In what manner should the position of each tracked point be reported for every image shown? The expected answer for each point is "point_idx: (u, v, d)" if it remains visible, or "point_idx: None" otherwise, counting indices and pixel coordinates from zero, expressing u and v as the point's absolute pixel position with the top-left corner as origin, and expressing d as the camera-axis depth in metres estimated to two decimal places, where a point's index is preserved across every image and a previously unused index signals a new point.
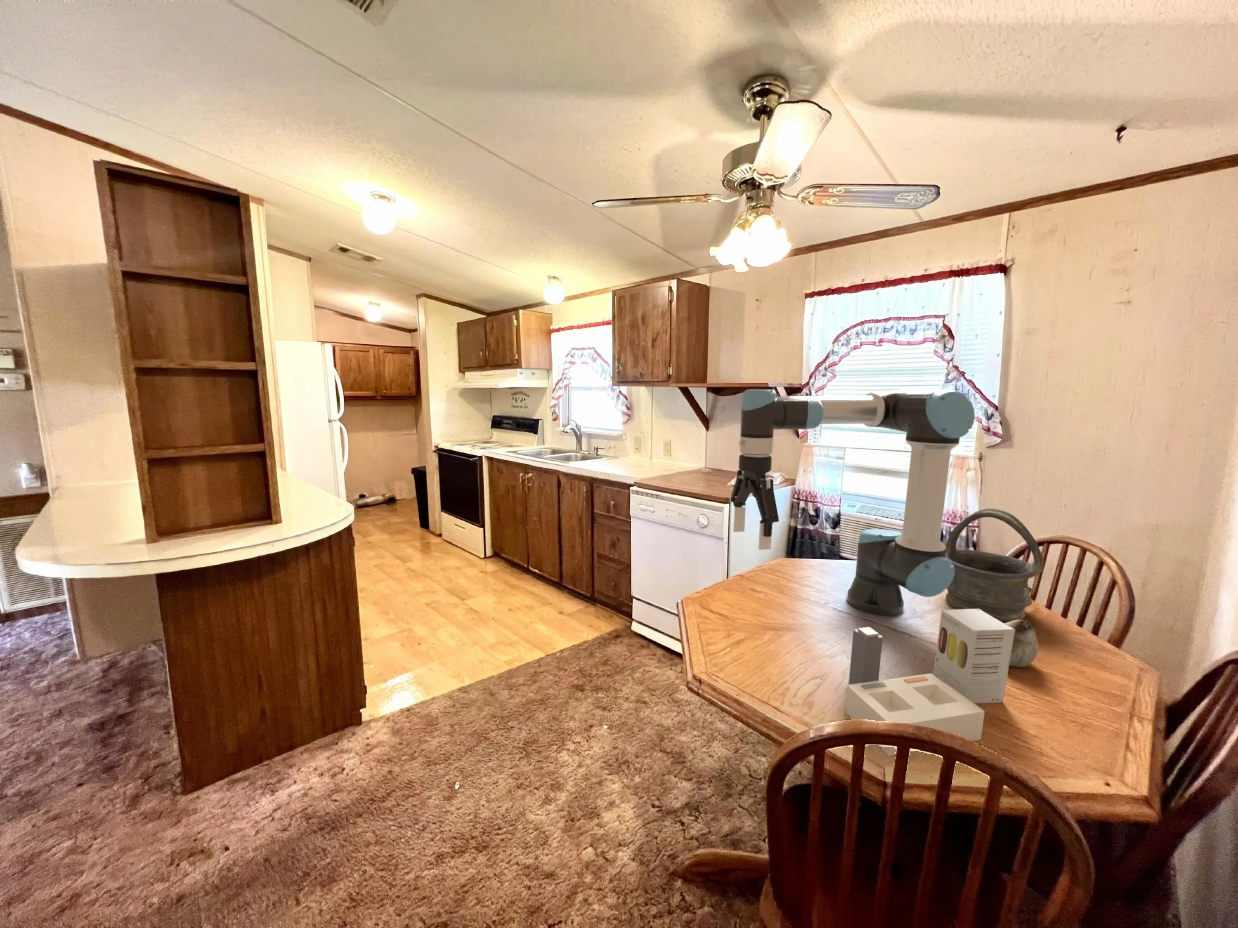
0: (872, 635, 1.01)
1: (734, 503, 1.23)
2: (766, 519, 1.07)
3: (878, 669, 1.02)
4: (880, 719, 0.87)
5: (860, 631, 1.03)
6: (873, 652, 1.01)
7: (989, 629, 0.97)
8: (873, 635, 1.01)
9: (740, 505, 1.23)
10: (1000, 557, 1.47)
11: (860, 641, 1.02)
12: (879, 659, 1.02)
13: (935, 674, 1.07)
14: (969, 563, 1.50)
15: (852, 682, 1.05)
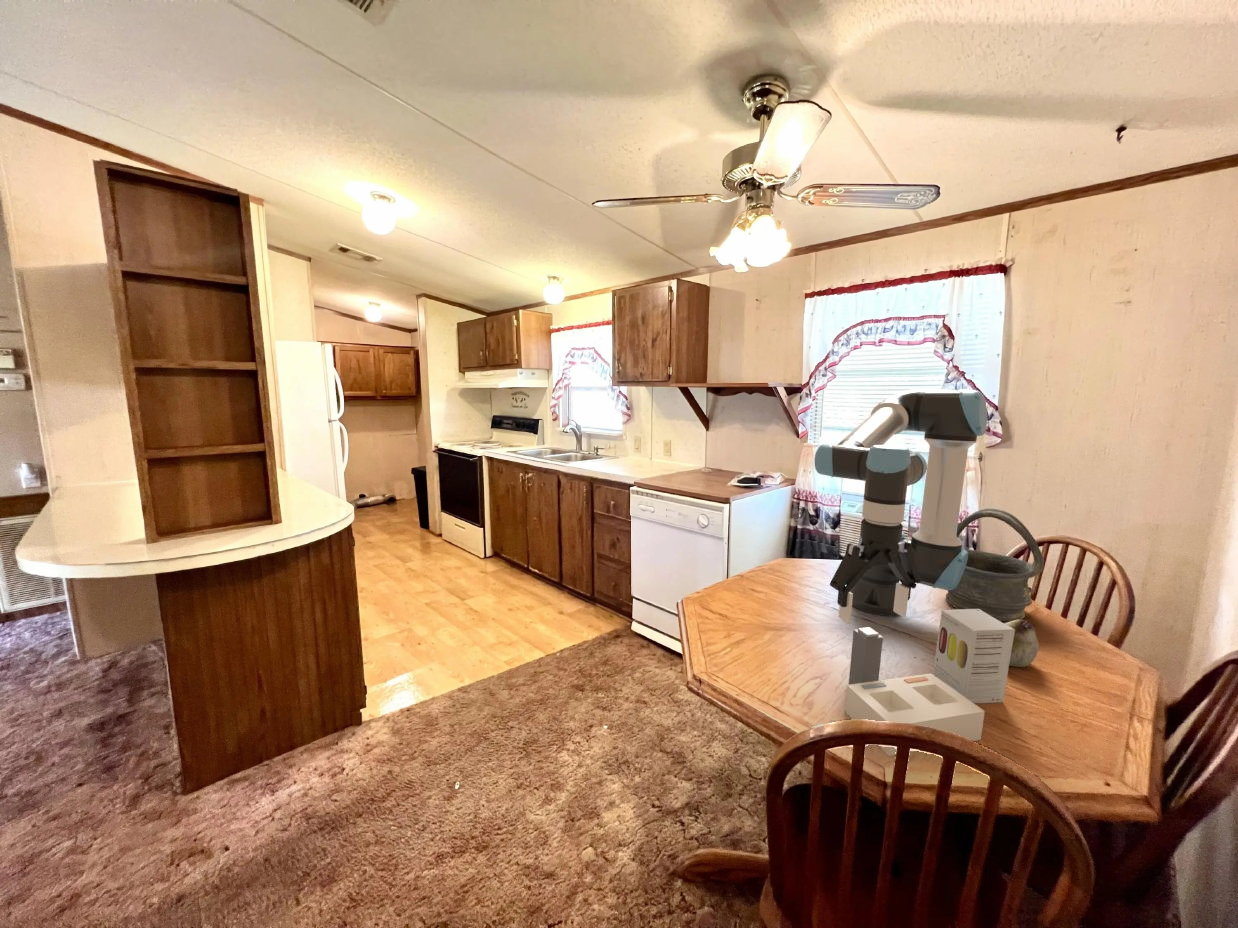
0: (872, 635, 1.01)
1: None
2: None
3: (878, 669, 1.02)
4: (880, 719, 0.87)
5: (860, 631, 1.03)
6: (873, 652, 1.01)
7: (989, 629, 0.97)
8: (873, 635, 1.01)
9: (905, 584, 1.02)
10: (1000, 557, 1.47)
11: (860, 641, 1.02)
12: (879, 659, 1.02)
13: (935, 674, 1.07)
14: (969, 563, 1.50)
15: (852, 682, 1.05)
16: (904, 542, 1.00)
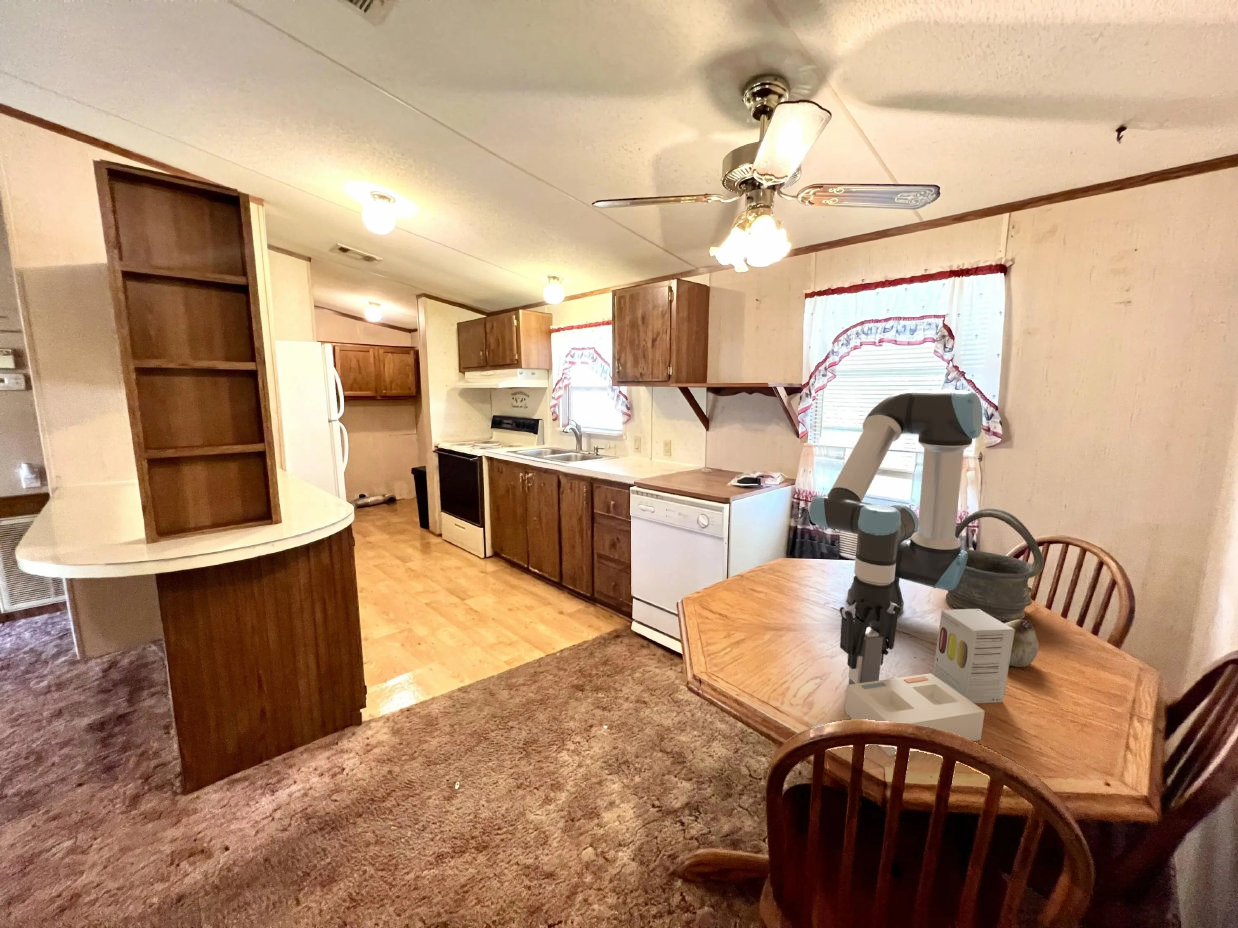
0: (872, 635, 1.01)
1: None
2: None
3: (878, 669, 1.02)
4: (880, 719, 0.87)
5: None
6: (873, 652, 1.01)
7: (988, 629, 0.97)
8: (873, 635, 1.01)
9: None
10: (1000, 557, 1.47)
11: None
12: (879, 659, 1.02)
13: (935, 674, 1.07)
14: (969, 563, 1.50)
15: (852, 682, 1.05)
16: (895, 604, 1.03)
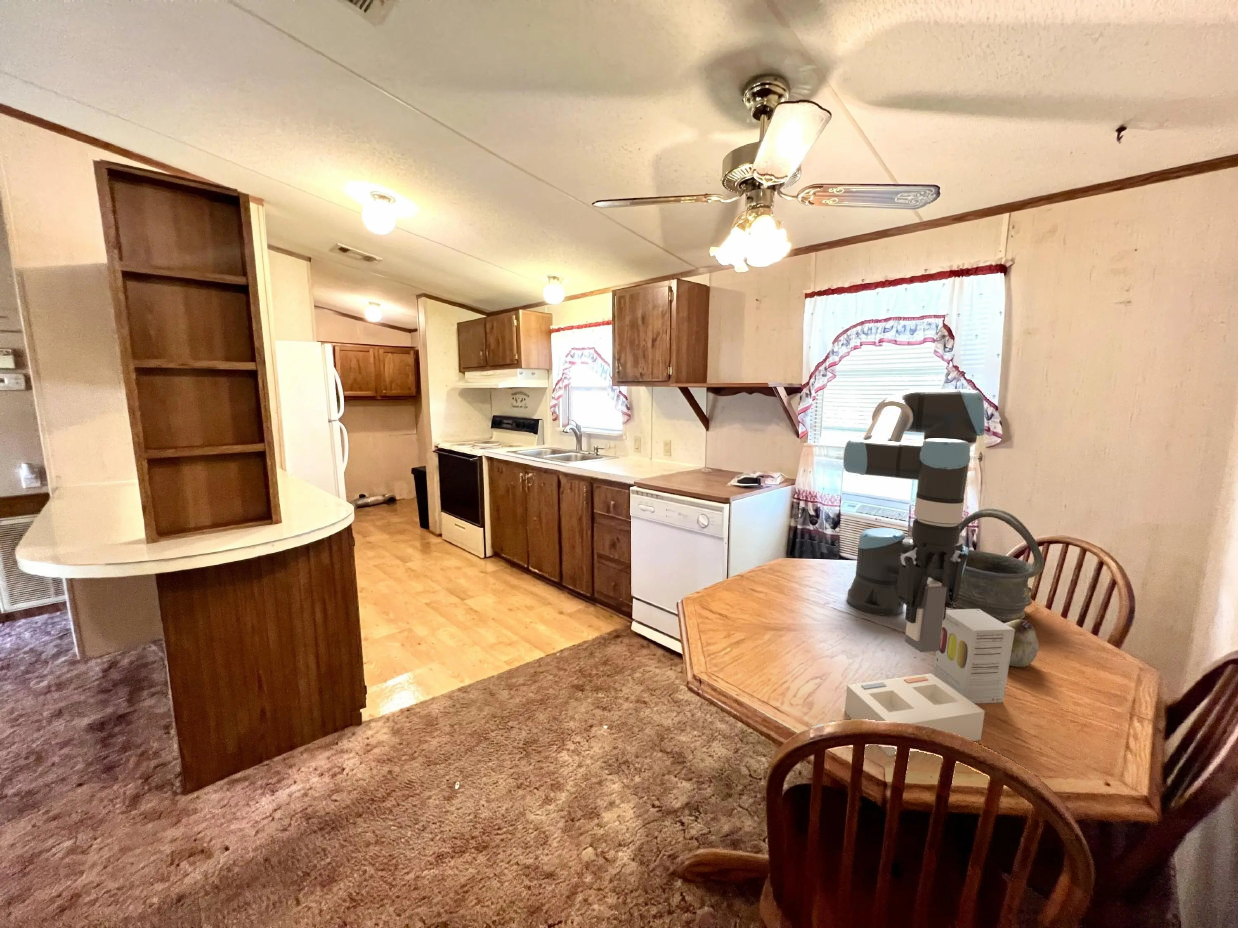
0: (934, 585, 0.91)
1: None
2: None
3: (940, 624, 0.92)
4: (880, 719, 0.87)
5: None
6: (935, 603, 0.91)
7: (989, 629, 0.97)
8: (935, 585, 0.91)
9: None
10: (1000, 557, 1.47)
11: None
12: (942, 612, 0.91)
13: (935, 674, 1.07)
14: (969, 563, 1.50)
15: (909, 639, 0.94)
16: (960, 552, 0.92)
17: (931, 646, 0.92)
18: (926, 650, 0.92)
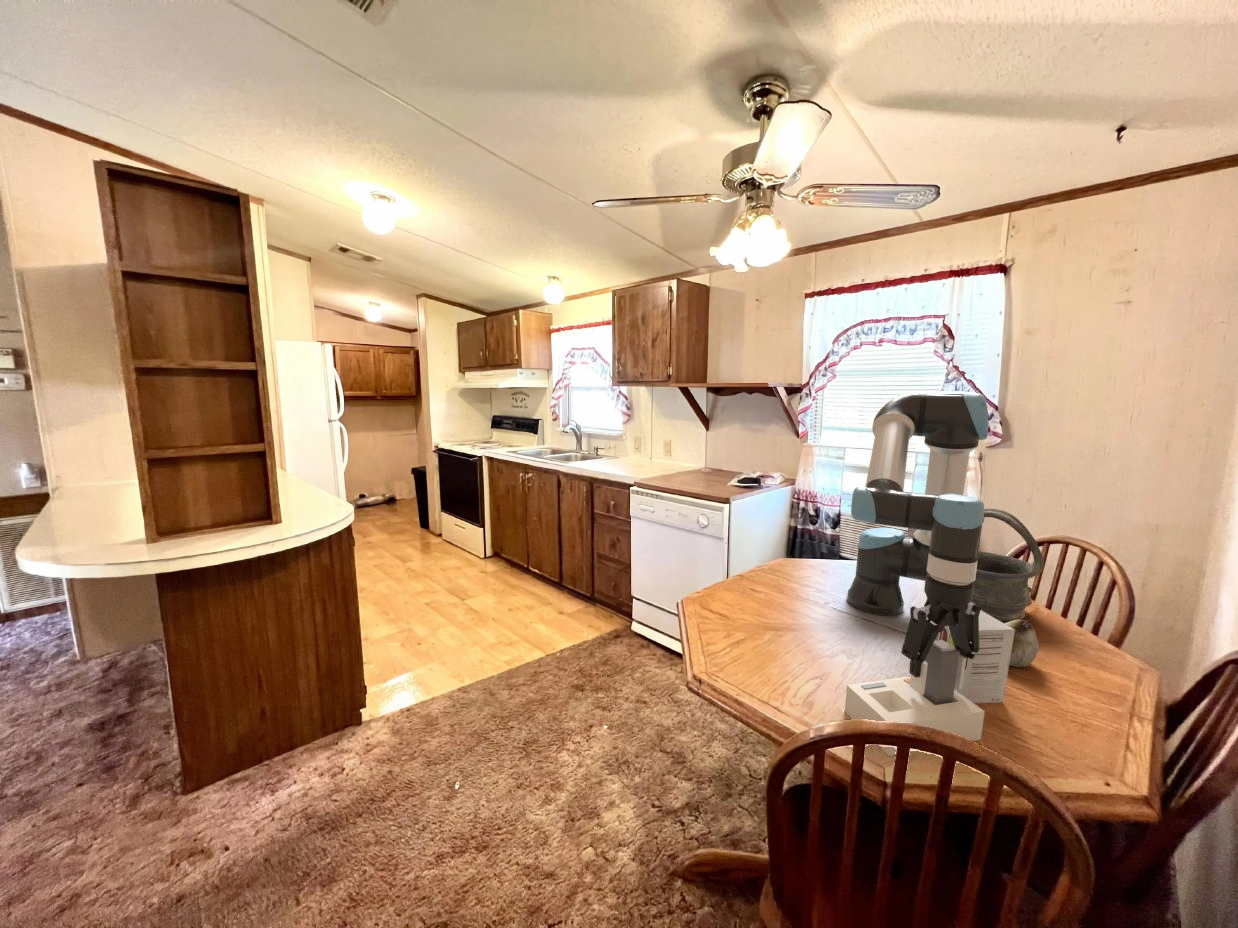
0: (948, 649, 0.90)
1: None
2: None
3: (953, 687, 0.92)
4: (880, 719, 0.87)
5: (933, 644, 0.92)
6: (948, 668, 0.90)
7: (989, 629, 0.97)
8: (949, 649, 0.91)
9: (961, 652, 0.93)
10: (1000, 557, 1.47)
11: (933, 656, 0.91)
12: (954, 676, 0.91)
13: None
14: None
15: None
16: (973, 604, 0.91)
17: None
18: None
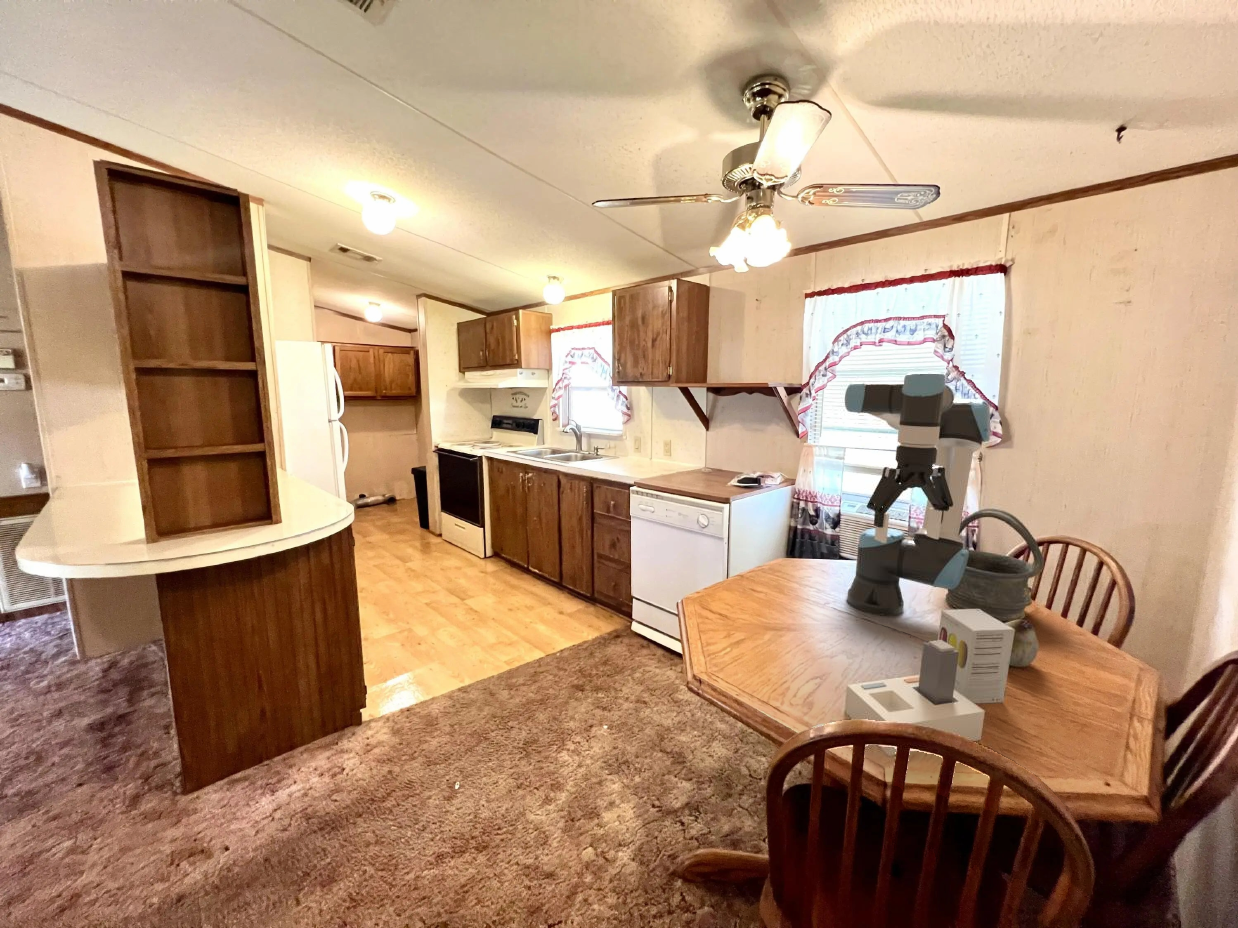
0: (947, 649, 0.90)
1: None
2: None
3: (953, 687, 0.92)
4: (880, 719, 0.87)
5: (932, 645, 0.92)
6: (947, 668, 0.90)
7: (989, 629, 0.97)
8: (948, 649, 0.90)
9: (938, 508, 1.07)
10: (1000, 557, 1.47)
11: (932, 656, 0.91)
12: (954, 676, 0.91)
13: None
14: (969, 563, 1.50)
15: None
16: (937, 467, 1.05)
17: None
18: None
